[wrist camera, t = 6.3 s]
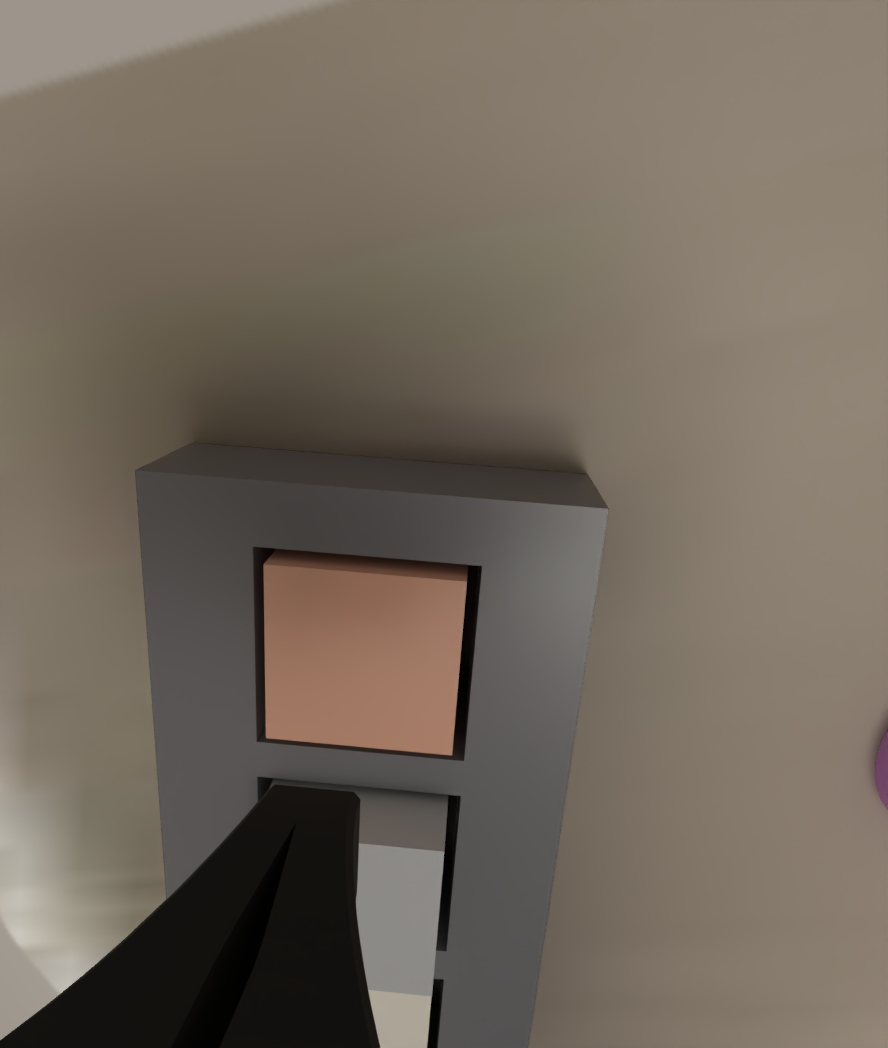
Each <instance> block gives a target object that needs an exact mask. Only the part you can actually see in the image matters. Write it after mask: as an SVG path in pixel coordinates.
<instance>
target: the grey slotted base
mask: <svg viewBox="0 0 888 1048" xmlns="http://www.w3.org/2000/svg"><path fill="white" fill-rule="evenodd" d="M135 475H136V489H137V503H138V516H139V530H140V544H141V557H142V571H143V585H144V598H145V612H146V626H147V639H148V653H149V667H150V680H151V694H152V708H153V721H154V735H155V749H156V762H157V776H158V790H159V803H160V817H161V831H162V844H163V858H164V872H165V885H166V899H168V898H169V897H170V896H171V895H172V894H173V893H174V892H175V891H176V890H177V889H178V888H179V887H180V886H181V885H182V884H183V883H184V882H185V881H186V880H187V878H188V877H189V876H190V875H191V874H192V873H193V872H194V871H195V870H196V869H197V868H198V867H199V866H200V865H201V864H202V863H203V862H204V861H205V860H206V859H207V858H208V857H209V856H210V855H211V854H212V853H213V851H214V850H215V849H216V848H217V847H218V846H219V845H220V844H221V843H222V842H223V841H224V840H225V838H226V837H227V836H228V835H229V834H230V833H231V832H232V831H233V830H234V829H235V827H236V826H237V825H238V824H239V823H240V822H241V821H242V820H243V818H244V817H245V816H246V815H247V814H248V813H249V811H250V810H251V809H252V808H253V807H254V806H255V805H256V803H257V802H258V801H259V800H260V799H261V797H262V796H263V795H264V794H265V793H266V792H267V790H268V789H269V788H270V786H271V783H272V781H273V779H274V778H278V779H288V780H299V781H309V782H320V783H330V784H341V785H351V786H362V787H372V788H383V789H393V790H404V791H414V792H425V793H435V794H446V795H456V796H458V800H457V811H456V822H455V833H454V844H453V855H452V864H450V863H443V874H442V885H441V897H440V909H439V920H438V932H437V944H436V955H435V967H434V979H441V987H440V998H439V1007H438V1006H431V1008H430V1019H429V1031H428V1043H427V1048H528V1045H529V1038H530V1031H531V1025H532V1018H533V1011H534V1005H535V998H536V991H537V985H538V978H539V971H540V965H541V958H542V951H543V945H544V938H545V931H546V925H547V918H548V911H549V905H550V898H551V891H552V885H553V878H554V871H555V865H556V858H557V851H558V844H559V838H560V831H561V824H562V818H563V811H564V804H565V798H566V791H567V784H568V778H569V771H570V764H571V758H572V751H573V744H574V738H575V731H576V724H577V718H578V711H579V704H580V698H581V691H582V684H583V678H584V671H585V664H586V658H587V651H588V644H589V638H590V631H591V624H592V618H593V611H594V604H595V598H596V591H597V584H598V578H599V571H600V564H601V558H602V551H603V544H604V538H605V531H606V524H607V517H608V511H609V508H608V507H607V505H606V503H605V502H604V500H603V498H602V497H601V495H600V493H599V492H598V490H597V488H596V487H595V485H594V483H593V482H592V480H591V478H590V477H589V475H588V474H577V473H565V472H552V471H540V470H527V469H515V468H502V467H490V466H477V465H465V464H452V463H440V462H427V461H415V460H402V459H390V458H377V457H364V456H352V455H339V454H327V453H314V452H302V451H289V450H277V449H264V448H252V447H239V446H227V445H214V444H202V443H191V444H189V445H187V446H184V447H182V448H180V449H178V450H176V451H174V452H172V453H170V454H168V455H166V456H164V457H162V458H160V459H158V460H156V461H153V462H151V463H149V464H147V465H145V466H143V467H141V468H139V469H137V470H135ZM276 549H287V550H299V551H311V552H323V553H335V554H347V555H358V556H370V557H382V558H394V559H406V560H418V561H429V562H441V563H453V564H465V565H477V566H479V568H478V579H477V590H476V601H475V612H474V623H473V634H472V645H471V656H470V667H469V678H468V689H467V693H461V692H458V693H457V704H456V716H455V728H454V739H453V751H452V755H441V754H431V753H420V752H409V751H399V750H388V749H377V748H366V747H356V746H345V745H334V744H324V743H313V742H302V741H291V740H281V739H270V738H266V709H265V637H264V566H263V564H264V563H265V562H266V561H267V560H268V558H269V557H270V556H271V555H272V554H273V552H274V551H275V550H276Z"/></svg>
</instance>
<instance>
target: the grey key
mask: <svg viewBox="0 0 888 1048" xmlns="http://www.w3.org/2000/svg"><path fill="white" fill-rule="evenodd" d="M275 784H277V785H287V786H298V787H309V788H319V789H330V790H340V791H351V792H354V793H355V794H356V795H357V796H358V797H359V798H360V827H359V854H358V882H357V896H356V910H357V920H358V928H359V936H360V943H361V950H362V956H363V963H364V969H365V975H366V981H367V986H368V990H375V991H384V992H394V993H403V994H413V995H422V996H432V990H433V979H434V967H435V955H436V944H437V932H438V920H439V909H440V897H441V885H442V874H443V862H444V850H445V837H446V823H447V809H448V795H446V794H435V793H425V792H414V791H404V790H393V789H383V788H372V787H362V786H351V785H341V784H330V783H320V782H309V781H299V780H288V779H278V778H274V779H273V781H272V783H271V786H270V788H271V787H272V786H274V785H275ZM270 788H269V789H270Z"/></svg>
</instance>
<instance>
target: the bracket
mask: <svg viewBox="0 0 888 1048" xmlns="http://www.w3.org/2000/svg"><path fill="white" fill-rule="evenodd" d="M875 779H876V785H877V789H878V792H879V795H880V797H881V799H882V801H883V803H884V805H885V806H886V808H887V809H888V731H887V732H886V734H885V736H884V738H883V740H882V742H881V744H880V747H879V750H878V753H877V758H876V763H875Z"/></svg>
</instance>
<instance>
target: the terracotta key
mask: <svg viewBox="0 0 888 1048" xmlns="http://www.w3.org/2000/svg"><path fill="white" fill-rule="evenodd" d="M263 566H264V637H265V709H266V738H270V739H281V740H291V741H302V742H313V743H324V744H334V745H345V746H356V747H366V748H377V749H388V750H399V751H409V752H420V753H431V754H441V755H452V751H453V739H454V728H455V716H456V704H457V693H458V681H459V669H460V657H461V646H462V634H463V622H464V611H465V599H466V587H467V573H468V565H465V564H453V563H441V562H429V561H418V560H406V559H394V558H382V557H370V556H358V555H347V554H335V553H323V552H311V551H299V550H287V549H276V550H275V551H274V552H273V554H272V555H271V556H270V557H269V558H268V560H267V561H266V562H265V563H264V564H263Z"/></svg>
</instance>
